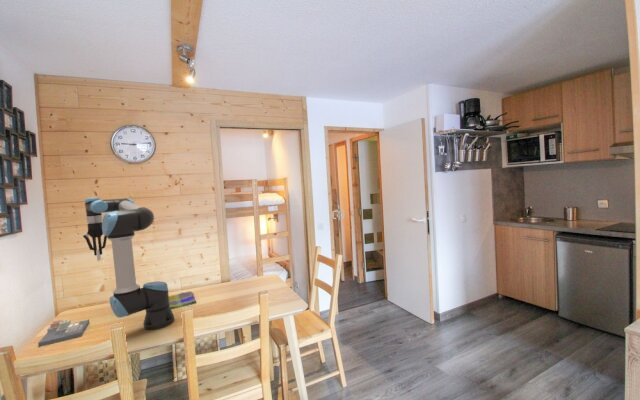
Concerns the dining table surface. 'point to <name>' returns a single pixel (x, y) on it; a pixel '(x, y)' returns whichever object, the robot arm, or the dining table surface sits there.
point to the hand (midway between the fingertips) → (99, 260)
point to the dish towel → (181, 300)
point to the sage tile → (64, 324)
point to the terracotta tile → (55, 324)
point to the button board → (62, 334)
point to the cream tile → (73, 326)
